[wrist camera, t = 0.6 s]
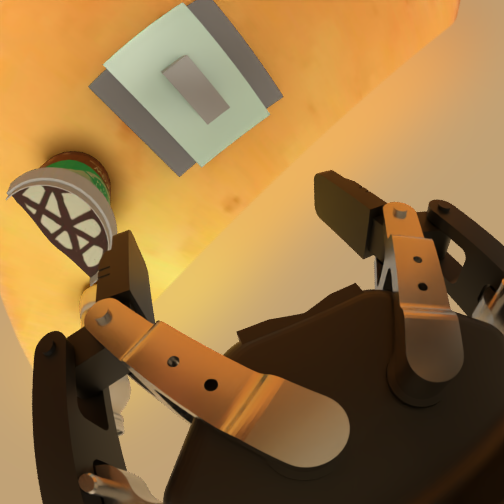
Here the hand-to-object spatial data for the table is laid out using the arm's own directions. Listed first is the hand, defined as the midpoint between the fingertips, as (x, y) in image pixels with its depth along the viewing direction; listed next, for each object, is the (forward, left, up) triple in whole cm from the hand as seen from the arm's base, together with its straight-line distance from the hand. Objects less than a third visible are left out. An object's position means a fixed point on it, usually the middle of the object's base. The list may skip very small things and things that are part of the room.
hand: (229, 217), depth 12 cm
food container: (+11, -2, -20) cm, 23 cm away
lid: (-3, -2, -19) cm, 19 cm away
